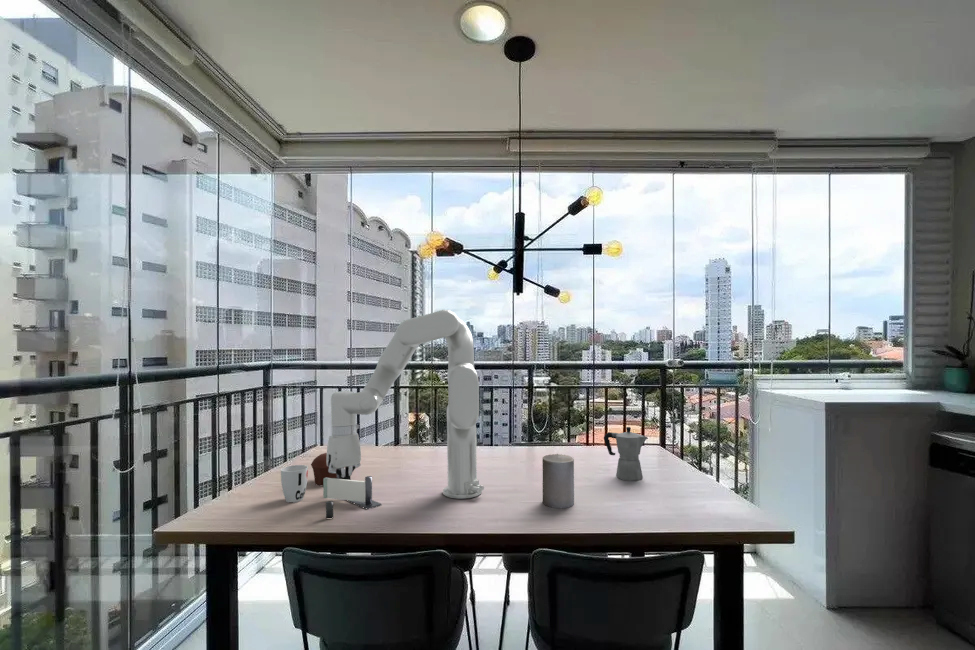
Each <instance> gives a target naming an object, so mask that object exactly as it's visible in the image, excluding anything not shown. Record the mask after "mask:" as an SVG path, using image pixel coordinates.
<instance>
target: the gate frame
mask: <svg viewBox="0 0 975 650" xmlns="http://www.w3.org/2000/svg"><path fill="white" fill-rule="evenodd" d="M337 479H339V476H338V475H337ZM364 479H365V480H364V481H365V502H359V501H350V500H348V501H350V502H352V503H351V504H353V503H355V504H357V505H359V506H358V507H360V506H362V507H364V508H363V509H365V508H367V509H366V510H370V509H369V508H371V509H373V508H372V507H374V508H377V507H380V505H381V506H382V503H381V502H378V501H376V500H373V476H371V475H367V476H365V478H364ZM348 501H347V502H348ZM350 502H349V503H350ZM355 504H354V505H355ZM357 505H356V506H357ZM376 506H377V507H376ZM362 507H361V508H362ZM332 517H333V518H334V501H333V500H328V501H325V519H326V518H332ZM333 518H332V519H333Z"/></svg>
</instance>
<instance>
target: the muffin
mask: <svg viewBox="0 0 975 650" xmlns="http://www.w3.org/2000/svg"><path fill="white" fill-rule="evenodd" d="M326 459H327V452H324V453H321V454H319V455H318V456H316V457H315V458H314V459H313V460H312V462H311V464H310V466H311V467H312V473H313V478H314V483H315V485H316V484H317V485H316V486H320V485H323V479H324V478H335V479H337V474H336V473H329V472H328V470H329V467H328V466H327V463H326Z"/></svg>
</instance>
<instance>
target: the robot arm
mask: <svg viewBox="0 0 975 650" xmlns="http://www.w3.org/2000/svg"><path fill="white" fill-rule="evenodd" d="M443 338H444V339H445V341H446V343H447V355H448V356H447V358H448V359H447V360H448V361H447V364H448V369H447V377H446V379H447V383H448V384H447V386H448V389H447V391H448V392H447V393H448V396H447V397H448V404H447V407H446V429H447V432H446V433H447V435H446V437H447V440H446V441H447V449H446V450H447V451H446V453H447V456H446V457H447V458H446V459H447V486H446V487H443V489H442V493H443V495H444V496H445V497H446V498H451V499H457V500H459V499H461V500H463V499H472V498H475V497H478V496H480V495H481V494H482V493H483V491H484V489H485V487H484V485H480V479H477V474H478V473H477V471H478V470H477V464H478V463H477V422H478V420H479V416H480V383H479V376H478V375H479V374H478V372H477V370H476V369H475V353H474V352H475V351H474V349H475V348H474V340H473V335H472V331H471V330H470V328H469V327H468V325H467V324H466V323H465V322H464V320H462V319H461V318H460V317H458V315H457V314H456V312H454V311H452V310H449V309H442V310H437V311H433V312H431V313H427V314H424V315H420V316H416V317H413V318H407V319H405V320H403V321H401V322H400V323H399V325H398V326H397V328H396V331H395V332H394V334H393V336H392V337H391V340H390V341H389V342H388V344H387V345H386V347H385V349H384V350H383V352H382V354H381V355H380V356H379V358H378V360H377V365H376V367H375V369H374V372H373V373H372V375H371V376H370V377H369V380H368V381H367V383H366V385H365V386H364V387H363V389H362V390H361V391H359V392H353V391H351V390H350V391H349V390H345V391H343V390H342V391H335V392H333V393H332V394H331V396H330V403H331V404H330V407H331V408H330V409H331V411H330V415H331V416H330V417H331V418H330V419H331V435H329V437H328V440H327V445H326V446H327V448H326V453H327V459H326V463H327V466H328V467H329V470H328V472H329V473H336V474H337V475H338V476H339V479H346V480H352V479H351V476H353V472H354V471H355V470H356V469H357V468H359V467H361V461H362V448H361V441H360V436H359V433H357V431H358V429H360V424H357V415H363V416H364V415H365V416H367V415H368V416H369V415H372V414H374V413H375V412H376V411H377V410H378V408H379V407H380V406H381V404H382V402H383V400H385V397H386V396H387V395H388V392H389V391H390V389H391V388H392V386H393V384H394V383H395V382H396V380H397V378H399V376H400V375H401V374H402V372H403V371H404V370H405V368H406V367H407V365H408V363H409V361H410V360H411V358H412V356H413V355H414V353H415V352H416V350H417V349H418V347H419V345H422V344H425V343H430V342H434V341H436V340H440V339H443Z"/></svg>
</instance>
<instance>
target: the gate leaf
mask: <svg viewBox="0 0 975 650" xmlns="http://www.w3.org/2000/svg"><path fill="white" fill-rule="evenodd" d="M322 487H323V488H322V489H323V491H322V492H323V493H322V494H323V495H322V496H323V499H331V500H339V501H340V500H341V501H345V500H350V501H359V502H365V480H356V479H351V480H346V479H335V478H324V479H323V486H322Z"/></svg>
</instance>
